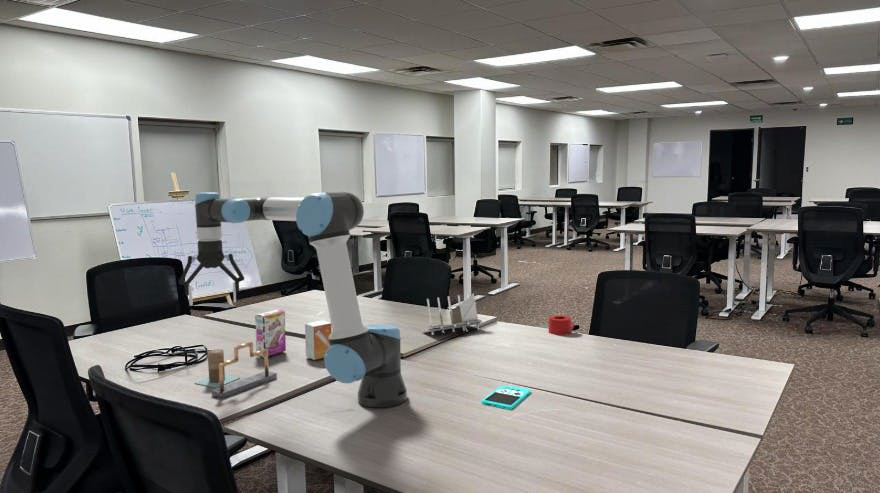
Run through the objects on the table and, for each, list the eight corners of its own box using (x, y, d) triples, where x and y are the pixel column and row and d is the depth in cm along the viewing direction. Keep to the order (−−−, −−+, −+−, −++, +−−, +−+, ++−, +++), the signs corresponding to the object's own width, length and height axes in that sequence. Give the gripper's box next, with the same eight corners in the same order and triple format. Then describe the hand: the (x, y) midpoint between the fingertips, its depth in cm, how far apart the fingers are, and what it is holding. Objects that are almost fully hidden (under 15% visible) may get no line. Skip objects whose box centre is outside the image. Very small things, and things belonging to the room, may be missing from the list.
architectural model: (490, 328, 255) (484, 286, 257) (439, 336, 243) (433, 292, 246) (470, 330, 270) (464, 291, 272) (421, 338, 258) (416, 296, 261)
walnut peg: (225, 381, 197) (223, 352, 196) (208, 383, 195) (207, 354, 194) (225, 377, 202) (223, 348, 200) (209, 378, 200) (207, 350, 199)
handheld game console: (531, 393, 186) (531, 389, 186) (511, 410, 172) (511, 406, 172) (502, 388, 191) (502, 383, 191) (480, 404, 177) (480, 400, 177)
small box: (314, 360, 220) (313, 326, 218) (305, 357, 224) (304, 323, 223) (332, 355, 225) (331, 322, 224) (323, 352, 230) (322, 319, 228)
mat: (239, 378, 201) (239, 377, 201) (216, 388, 192) (216, 387, 192) (218, 374, 205) (218, 373, 205) (194, 383, 196) (194, 382, 196)
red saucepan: (565, 336, 249) (565, 321, 249) (544, 333, 255) (545, 318, 254) (581, 327, 264) (581, 313, 263) (562, 324, 269) (562, 310, 269)
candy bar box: (265, 358, 223) (263, 316, 221) (256, 356, 225) (254, 314, 223) (287, 351, 232) (285, 310, 230) (277, 349, 235) (276, 308, 233)
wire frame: (276, 378, 201) (275, 337, 199) (222, 399, 182) (219, 353, 181) (266, 376, 203) (264, 335, 202) (212, 396, 185) (209, 351, 183)
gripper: (249, 237, 200) (252, 298, 203) (169, 240, 192) (173, 304, 195) (249, 239, 193) (252, 302, 196) (166, 242, 185) (171, 308, 188)
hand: (213, 303), depth 195 cm, fingers open, 13 cm apart
